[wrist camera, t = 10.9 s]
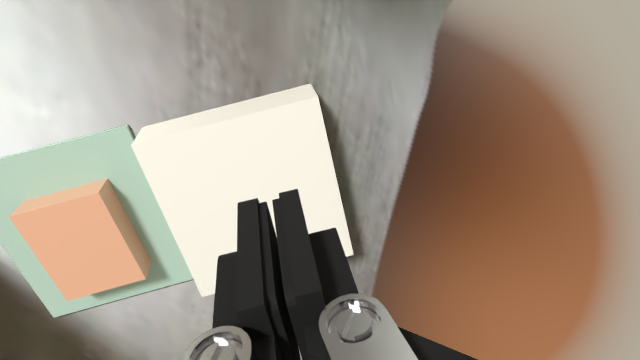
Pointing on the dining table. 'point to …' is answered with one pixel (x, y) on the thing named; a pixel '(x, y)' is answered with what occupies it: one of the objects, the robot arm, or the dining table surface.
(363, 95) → the dining table surface
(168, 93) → the dining table surface
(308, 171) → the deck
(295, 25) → the dining table surface
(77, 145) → the mat
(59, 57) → the dining table surface
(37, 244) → the tile
